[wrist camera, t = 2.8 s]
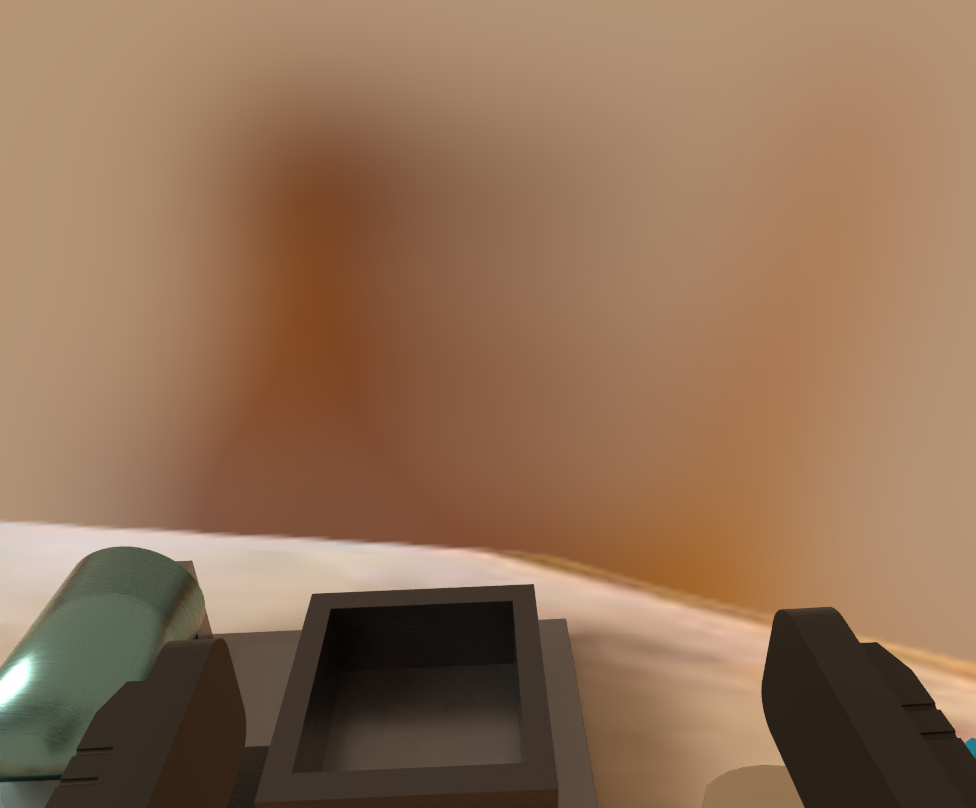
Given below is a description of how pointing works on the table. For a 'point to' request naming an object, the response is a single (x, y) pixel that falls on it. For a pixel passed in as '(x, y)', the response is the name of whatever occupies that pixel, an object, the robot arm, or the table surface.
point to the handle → (753, 789)
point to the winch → (318, 691)
